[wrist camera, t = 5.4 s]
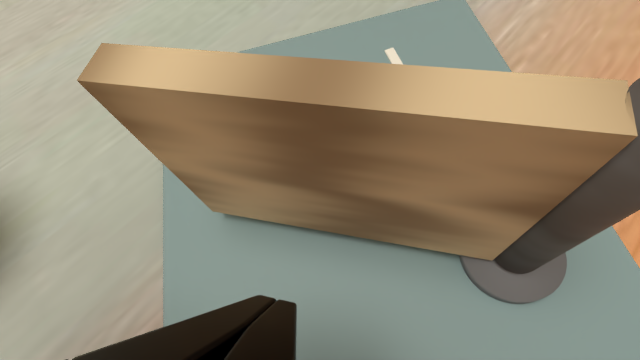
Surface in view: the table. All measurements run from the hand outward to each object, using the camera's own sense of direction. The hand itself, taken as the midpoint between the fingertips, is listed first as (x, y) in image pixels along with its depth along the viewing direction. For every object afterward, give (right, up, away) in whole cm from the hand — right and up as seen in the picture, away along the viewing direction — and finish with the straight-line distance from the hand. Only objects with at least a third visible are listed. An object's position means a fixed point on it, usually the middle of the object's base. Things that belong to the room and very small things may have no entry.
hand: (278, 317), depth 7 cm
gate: (+3, +1, +7) cm, 7 cm away
